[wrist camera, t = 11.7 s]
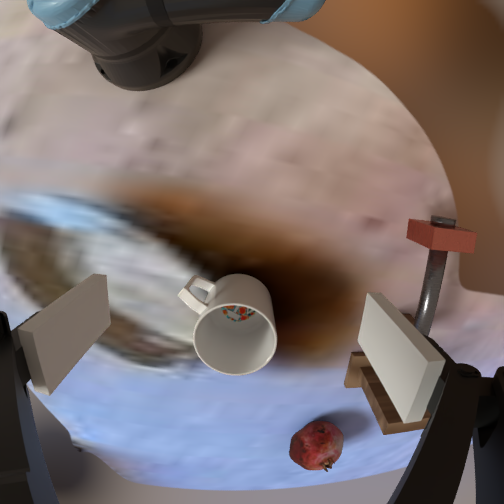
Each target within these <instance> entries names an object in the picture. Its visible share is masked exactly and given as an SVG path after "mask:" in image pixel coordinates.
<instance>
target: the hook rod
mask: <svg viewBox="0 0 504 504" xmlns="http://www.w3.org/2000/svg"><path fill="white" fill-rule="evenodd" d="M455 223H456V220H454V219H450V218H446V217H440V216H433V215H431V221H424V220H416V219H409V222H408V230H407V237H406V238H408V239H410V240H412V241H414V242H416V243H419V244H421V245H423V246H425V247H427V248H429V255H428V261H427V266H426V272H425V277H424V282H423V286H422V291H421V296H420V300H419V304H418V308H417V313H416V317H415V321H414V324H413V326H414V327H415V328H416V329H417V330H418V331H419V332H420V333H421V334H422V335H423V334H424V335H426V336H428V335H429V332H430V328H431V325H432V321H433V317H434V314H435V310H436V306H437V302H438V298H439V293H440V289H441V284H442V280H443V275H444V270H445V265H446V260H447V254H448V251H453V252H464V253H474V248H475V242H476V236H477V233H476V232H473V231H469V230H467V229H464V228H461V227H457V226H455Z"/></svg>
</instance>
